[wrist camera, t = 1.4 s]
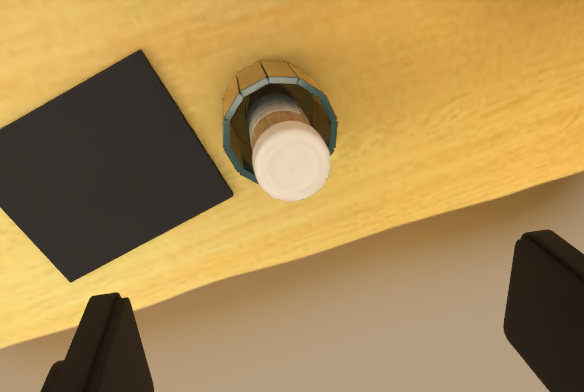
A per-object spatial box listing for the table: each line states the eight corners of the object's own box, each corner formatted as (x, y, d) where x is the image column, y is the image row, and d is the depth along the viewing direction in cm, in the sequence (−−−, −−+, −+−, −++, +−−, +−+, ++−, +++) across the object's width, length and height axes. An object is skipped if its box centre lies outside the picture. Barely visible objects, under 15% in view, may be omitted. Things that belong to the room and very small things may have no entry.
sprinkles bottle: (297, 136, 40) (330, 202, 28) (243, 136, 39) (254, 205, 27) (299, 82, 38) (335, 129, 26) (243, 82, 38) (253, 129, 25)
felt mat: (140, 49, 35) (139, 50, 35) (233, 193, 41) (233, 196, 41) (-44, 154, 37) (-48, 156, 36) (72, 279, 43) (70, 283, 42)
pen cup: (291, 42, 37) (306, 54, 30) (333, 127, 40) (354, 154, 34) (204, 90, 37) (200, 113, 31) (252, 171, 41) (258, 205, 35)
